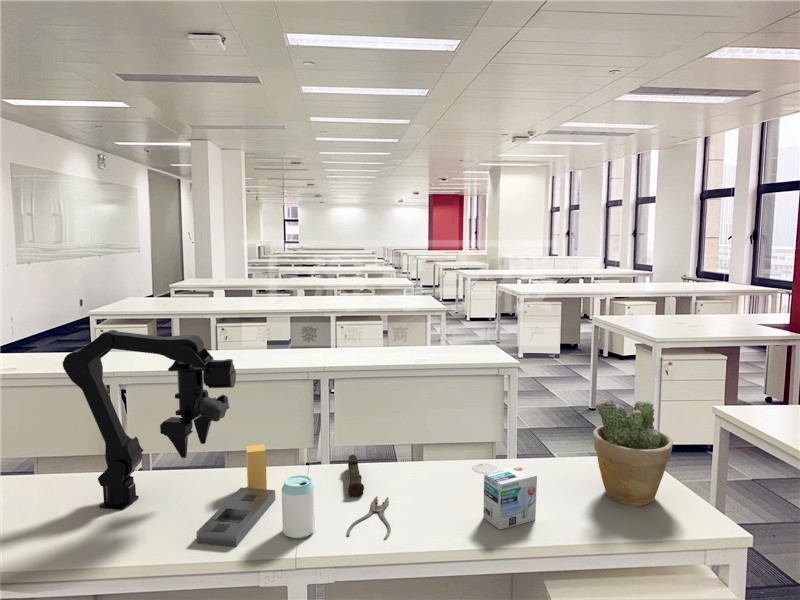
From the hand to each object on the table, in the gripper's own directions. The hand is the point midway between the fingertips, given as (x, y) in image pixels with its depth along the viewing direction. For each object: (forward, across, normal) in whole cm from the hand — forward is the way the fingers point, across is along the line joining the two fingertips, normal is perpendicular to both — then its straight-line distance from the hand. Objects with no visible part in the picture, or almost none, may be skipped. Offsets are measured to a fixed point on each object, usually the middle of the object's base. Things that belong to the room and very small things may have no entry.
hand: (193, 450), depth 145 cm
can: (+13, -10, -30) cm, 34 cm away
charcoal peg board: (+13, -7, -14) cm, 21 cm away
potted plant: (+13, +21, -106) cm, 109 cm away
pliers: (+14, -1, -44) cm, 46 cm away
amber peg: (+13, +9, -12) cm, 20 cm away
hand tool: (+14, +17, -35) cm, 41 cm away
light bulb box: (+13, +4, -76) cm, 77 cm away
